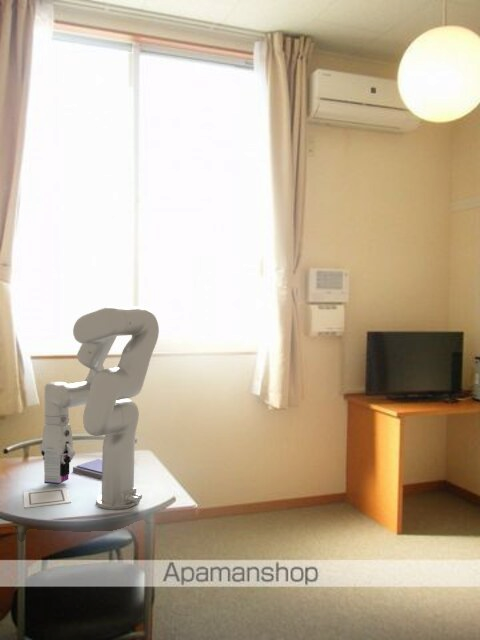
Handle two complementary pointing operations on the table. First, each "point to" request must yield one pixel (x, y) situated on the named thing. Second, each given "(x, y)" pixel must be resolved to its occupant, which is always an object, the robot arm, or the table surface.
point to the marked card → (46, 497)
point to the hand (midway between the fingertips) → (56, 472)
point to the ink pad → (90, 469)
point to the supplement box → (53, 467)
